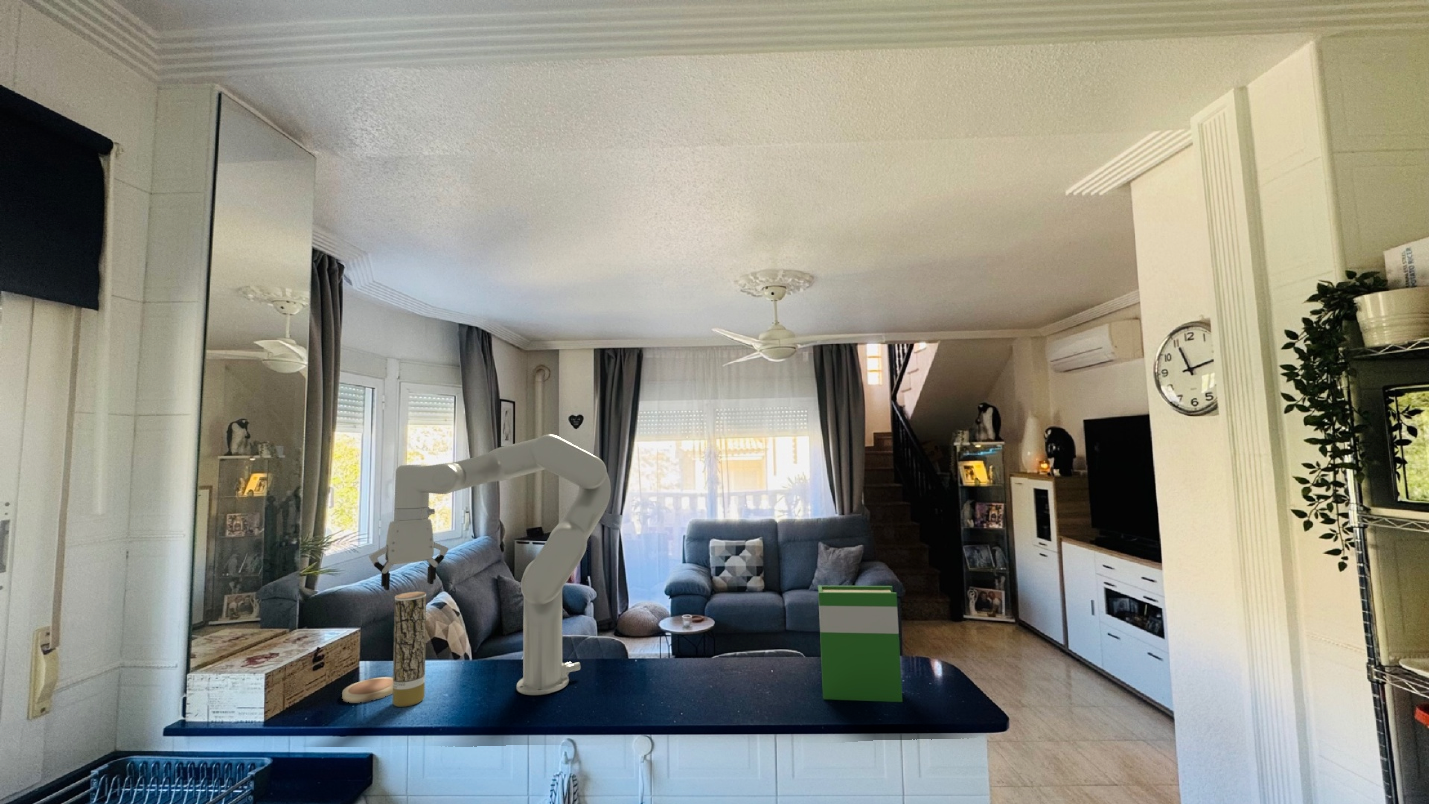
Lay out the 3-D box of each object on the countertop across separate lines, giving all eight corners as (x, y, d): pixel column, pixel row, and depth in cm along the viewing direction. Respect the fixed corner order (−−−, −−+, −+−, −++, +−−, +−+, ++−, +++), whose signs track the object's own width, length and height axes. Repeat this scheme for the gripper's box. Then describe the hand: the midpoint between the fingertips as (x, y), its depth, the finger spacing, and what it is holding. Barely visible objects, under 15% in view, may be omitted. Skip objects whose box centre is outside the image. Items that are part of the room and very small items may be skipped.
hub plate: (393, 679, 153) (393, 673, 153) (402, 693, 144) (402, 686, 144) (339, 692, 145) (339, 685, 146) (345, 707, 136) (345, 700, 136)
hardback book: (897, 688, 138) (891, 586, 140) (902, 702, 131) (896, 593, 133) (822, 686, 141) (818, 585, 143) (823, 699, 133) (818, 592, 136)
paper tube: (411, 709, 134) (412, 598, 137) (385, 707, 136) (388, 598, 138) (430, 696, 141) (432, 591, 143) (406, 695, 142) (408, 591, 145)
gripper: (444, 511, 151) (442, 578, 149) (368, 516, 140) (365, 589, 138) (452, 513, 145) (450, 583, 143) (373, 519, 134) (370, 594, 132)
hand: (408, 586), depth 141 cm, fingers open, 9 cm apart
